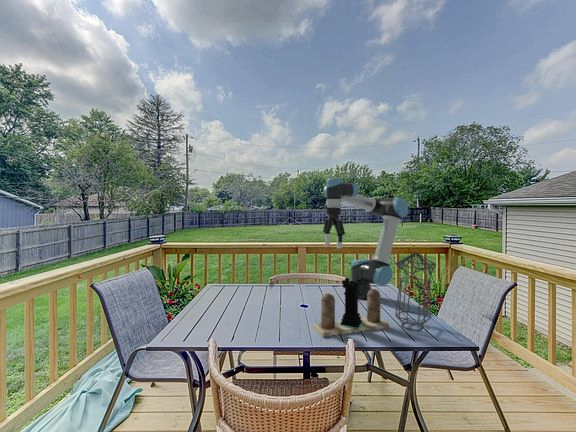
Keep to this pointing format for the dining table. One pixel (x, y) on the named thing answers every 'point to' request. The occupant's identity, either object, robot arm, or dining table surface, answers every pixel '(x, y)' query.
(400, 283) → the geometric lantern
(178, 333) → the dining table surface
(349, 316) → the chess piece
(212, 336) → the dining table surface
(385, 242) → the robot arm
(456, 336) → the dining table surface
